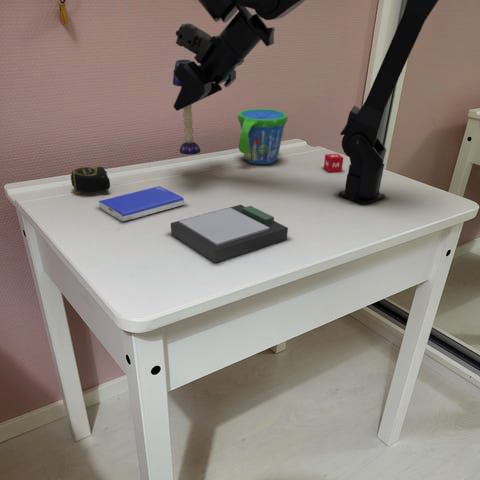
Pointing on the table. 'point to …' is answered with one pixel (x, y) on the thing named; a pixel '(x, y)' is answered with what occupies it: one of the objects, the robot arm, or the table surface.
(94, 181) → the tape measure
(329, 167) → the dice
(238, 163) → the table surface
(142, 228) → the table surface
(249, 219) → the scale
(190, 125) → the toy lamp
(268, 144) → the snack cup
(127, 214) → the hard drive
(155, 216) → the table surface
